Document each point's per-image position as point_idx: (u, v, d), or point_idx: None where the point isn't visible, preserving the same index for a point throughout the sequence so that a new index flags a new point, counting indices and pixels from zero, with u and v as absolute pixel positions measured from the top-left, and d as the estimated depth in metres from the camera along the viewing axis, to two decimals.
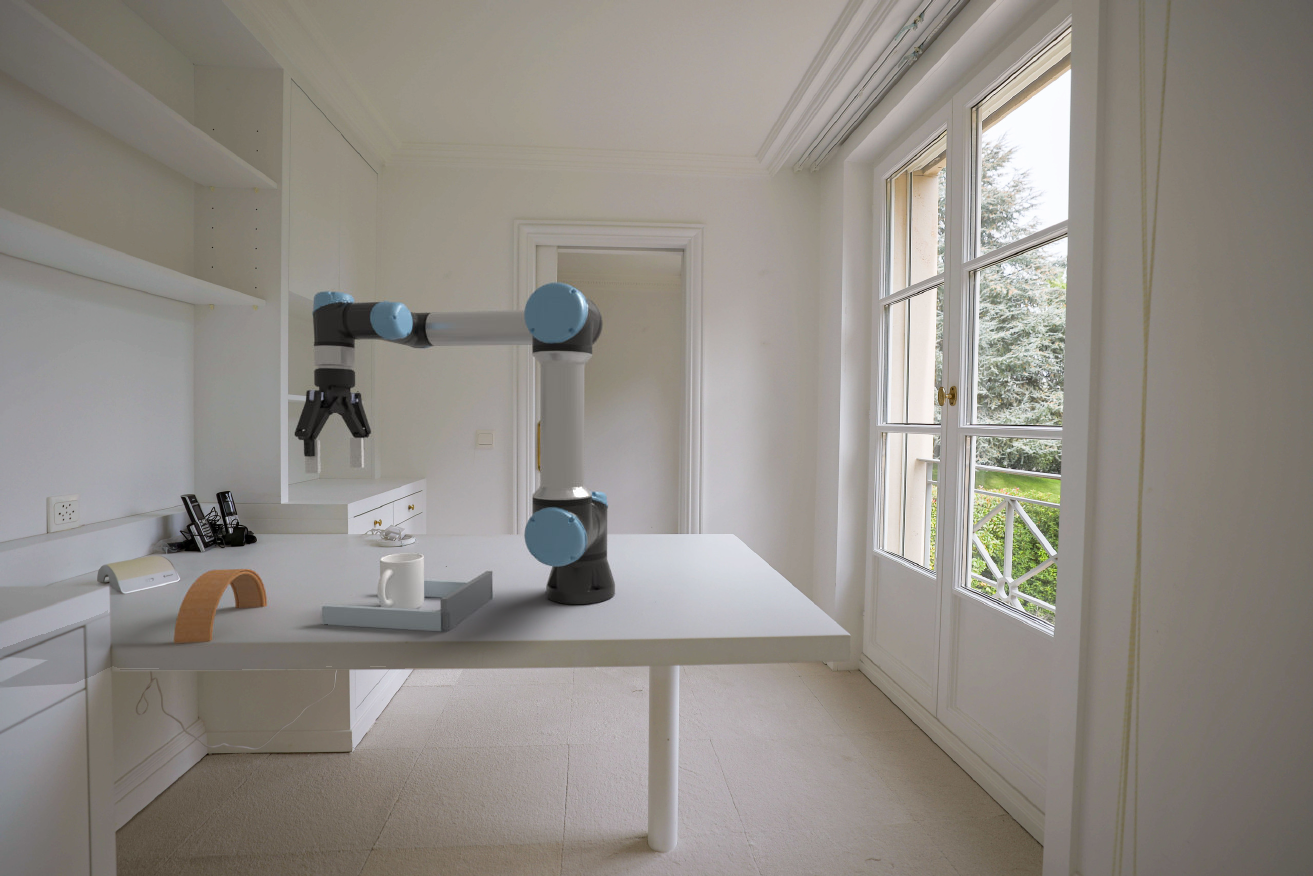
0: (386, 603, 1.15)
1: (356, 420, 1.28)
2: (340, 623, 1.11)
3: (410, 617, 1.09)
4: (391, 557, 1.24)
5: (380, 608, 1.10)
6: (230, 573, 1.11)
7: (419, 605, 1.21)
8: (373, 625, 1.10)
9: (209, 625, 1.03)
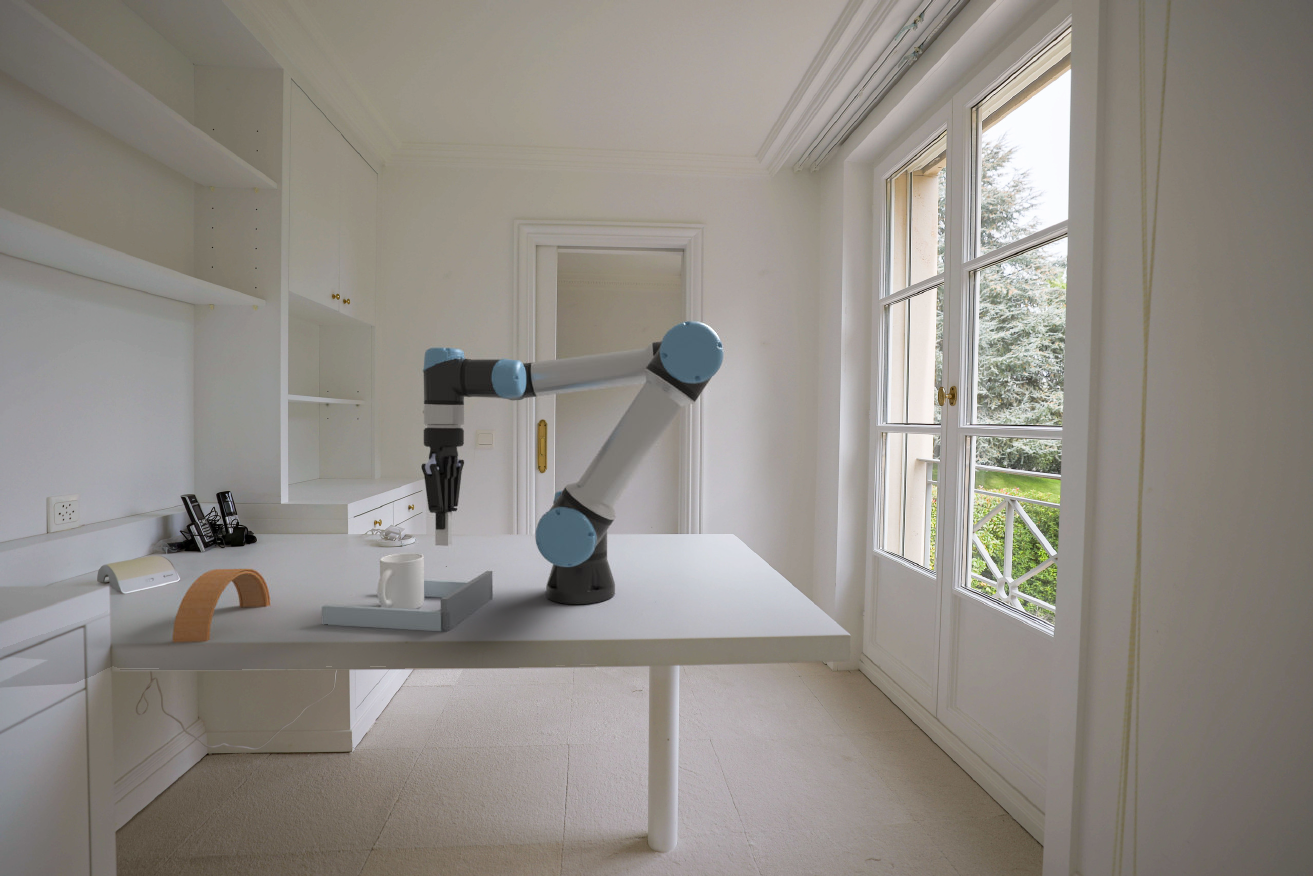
0: (386, 603, 1.15)
1: (452, 487, 1.19)
2: (340, 623, 1.11)
3: (410, 617, 1.09)
4: (391, 557, 1.24)
5: (380, 608, 1.10)
6: (230, 573, 1.11)
7: (419, 605, 1.21)
8: (373, 625, 1.10)
9: (206, 625, 1.03)
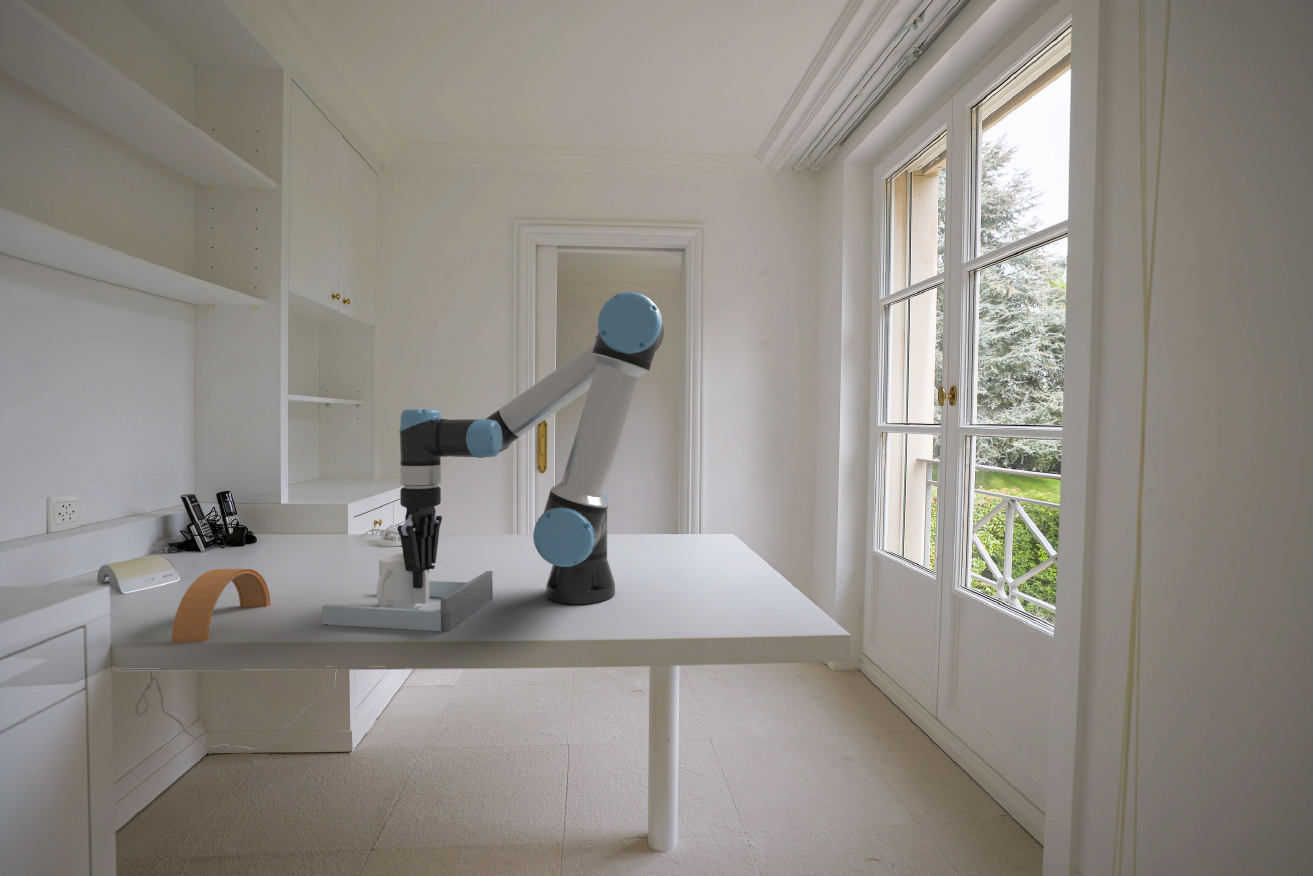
0: (385, 603, 1.15)
1: (429, 545, 1.20)
2: (340, 623, 1.11)
3: (410, 617, 1.09)
4: (390, 557, 1.24)
5: (380, 608, 1.10)
6: (230, 573, 1.11)
7: (418, 605, 1.21)
8: (373, 625, 1.10)
9: (205, 625, 1.03)
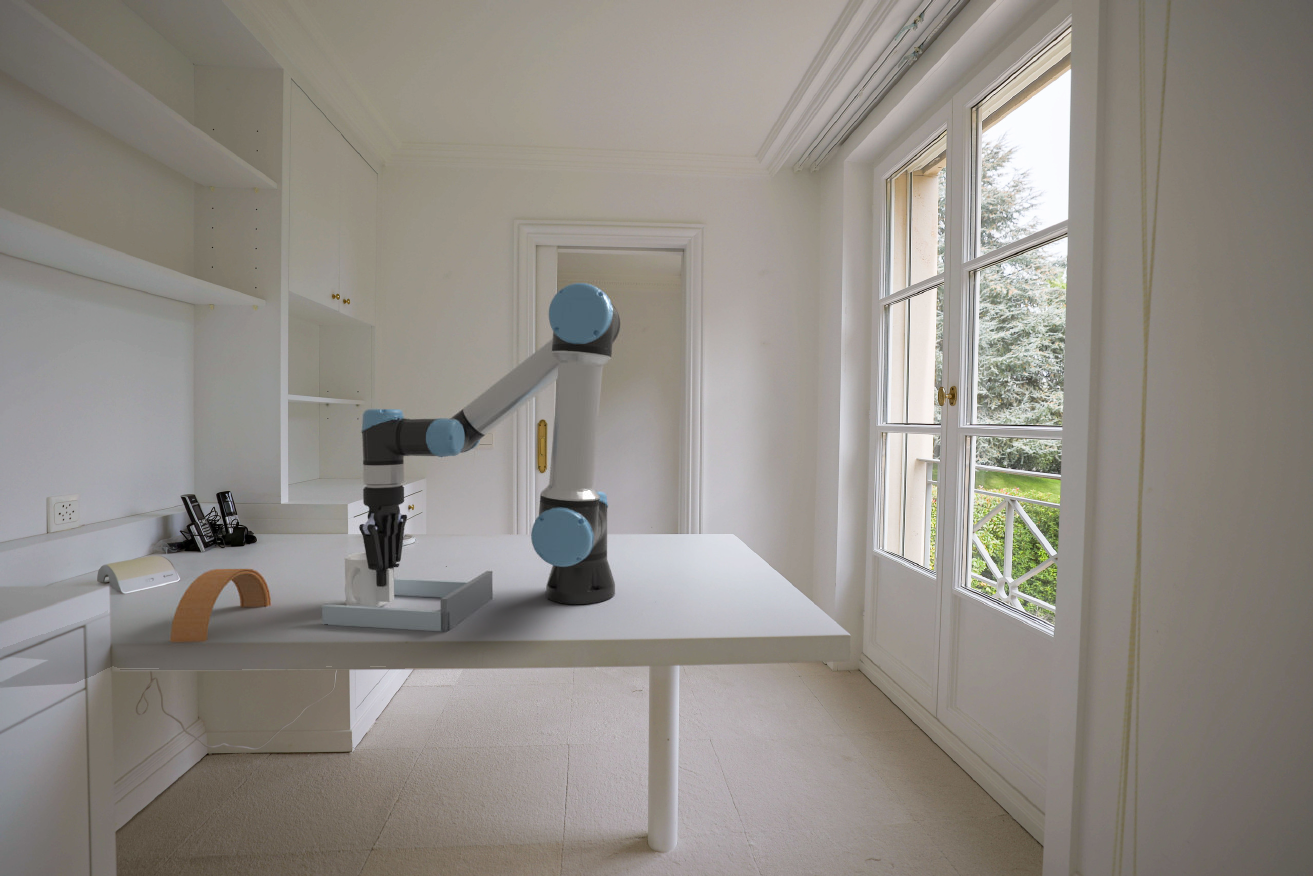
0: (354, 600, 1.17)
1: (394, 544, 1.21)
2: (340, 623, 1.11)
3: (410, 617, 1.09)
4: (355, 555, 1.25)
5: (380, 608, 1.10)
6: (229, 573, 1.11)
7: None
8: (373, 625, 1.10)
9: (204, 625, 1.03)
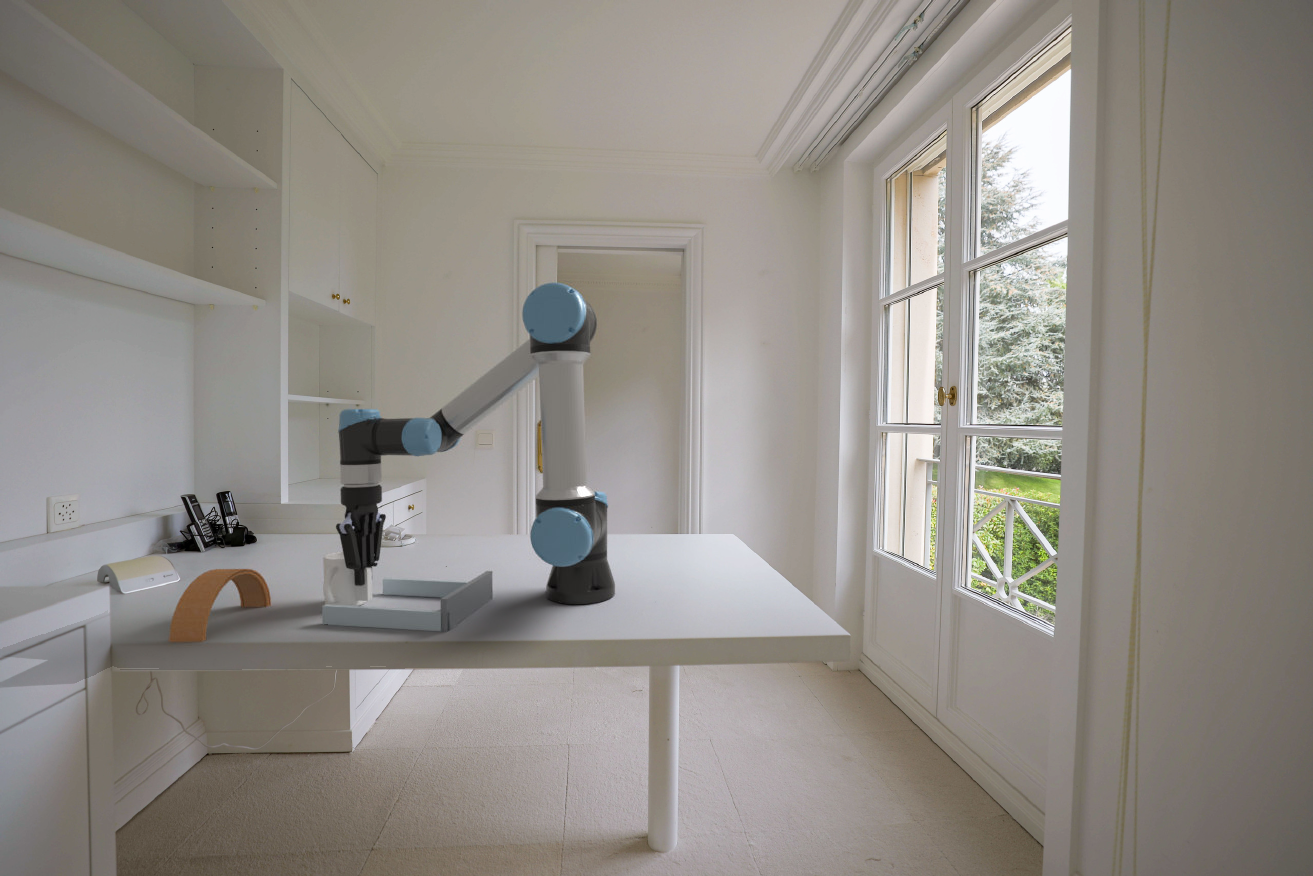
0: (332, 599, 1.17)
1: (372, 543, 1.22)
2: (340, 623, 1.11)
3: (410, 617, 1.09)
4: (334, 555, 1.25)
5: (380, 608, 1.10)
6: (228, 573, 1.11)
7: None
8: (373, 625, 1.10)
9: (202, 625, 1.03)
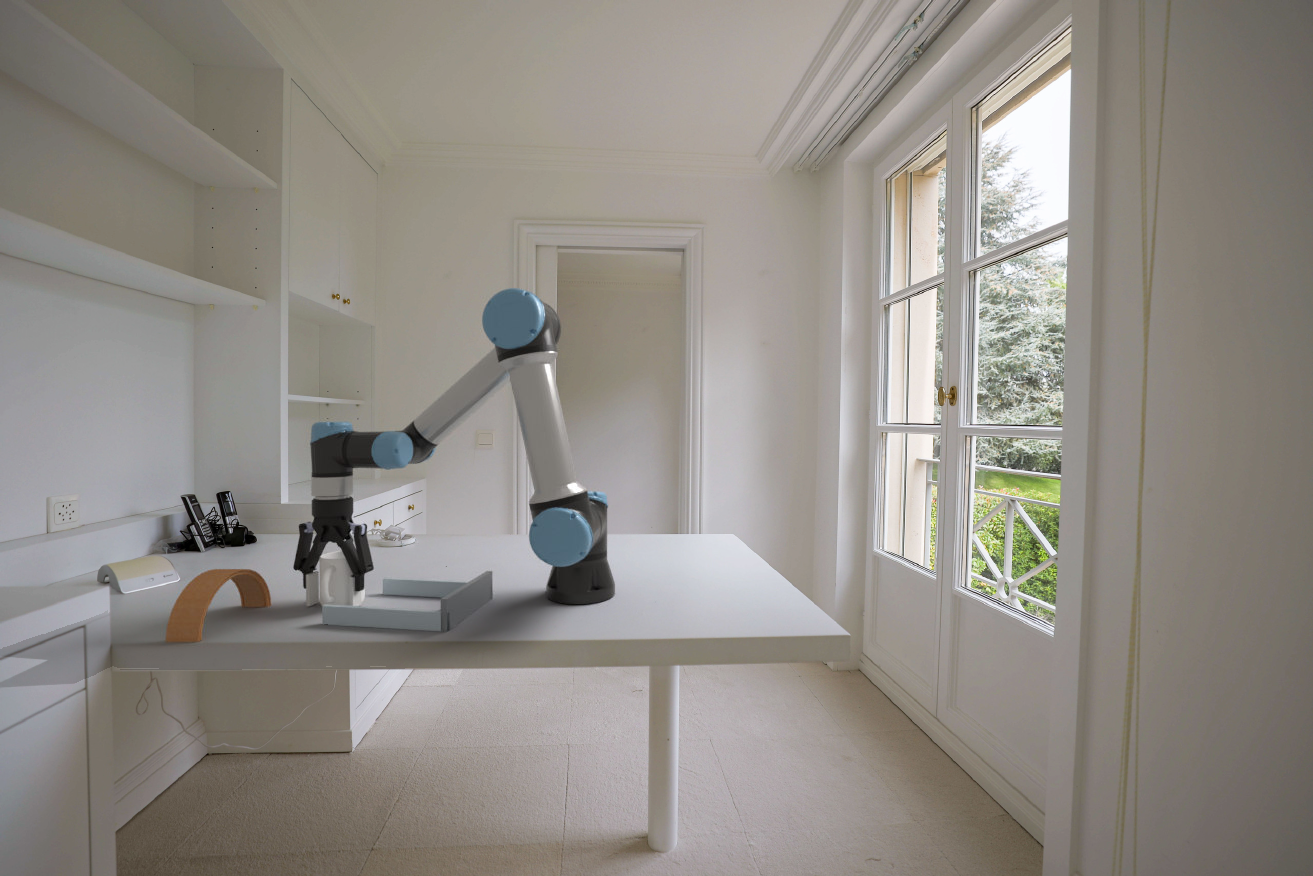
0: (329, 599, 1.17)
1: (347, 555, 1.20)
2: (340, 623, 1.11)
3: (410, 617, 1.09)
4: (329, 555, 1.25)
5: (380, 608, 1.10)
6: (226, 573, 1.11)
7: (361, 600, 1.24)
8: (373, 625, 1.10)
9: (198, 625, 1.03)
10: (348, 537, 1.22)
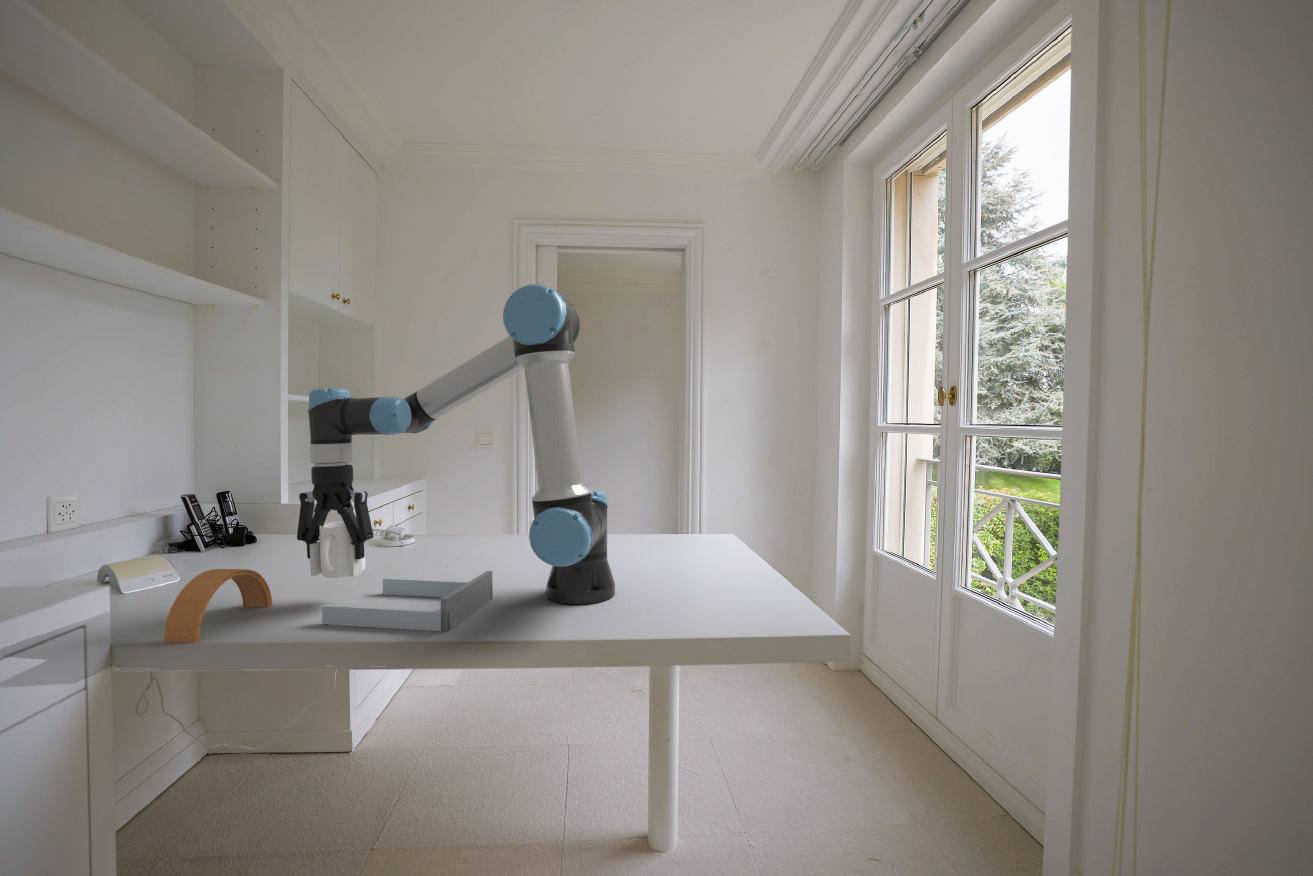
0: (330, 567, 1.17)
1: (347, 522, 1.20)
2: (340, 623, 1.11)
3: (410, 617, 1.09)
4: (329, 525, 1.25)
5: (380, 608, 1.10)
6: (225, 573, 1.10)
7: (362, 569, 1.23)
8: (373, 625, 1.10)
9: (195, 626, 1.03)
10: (348, 505, 1.22)
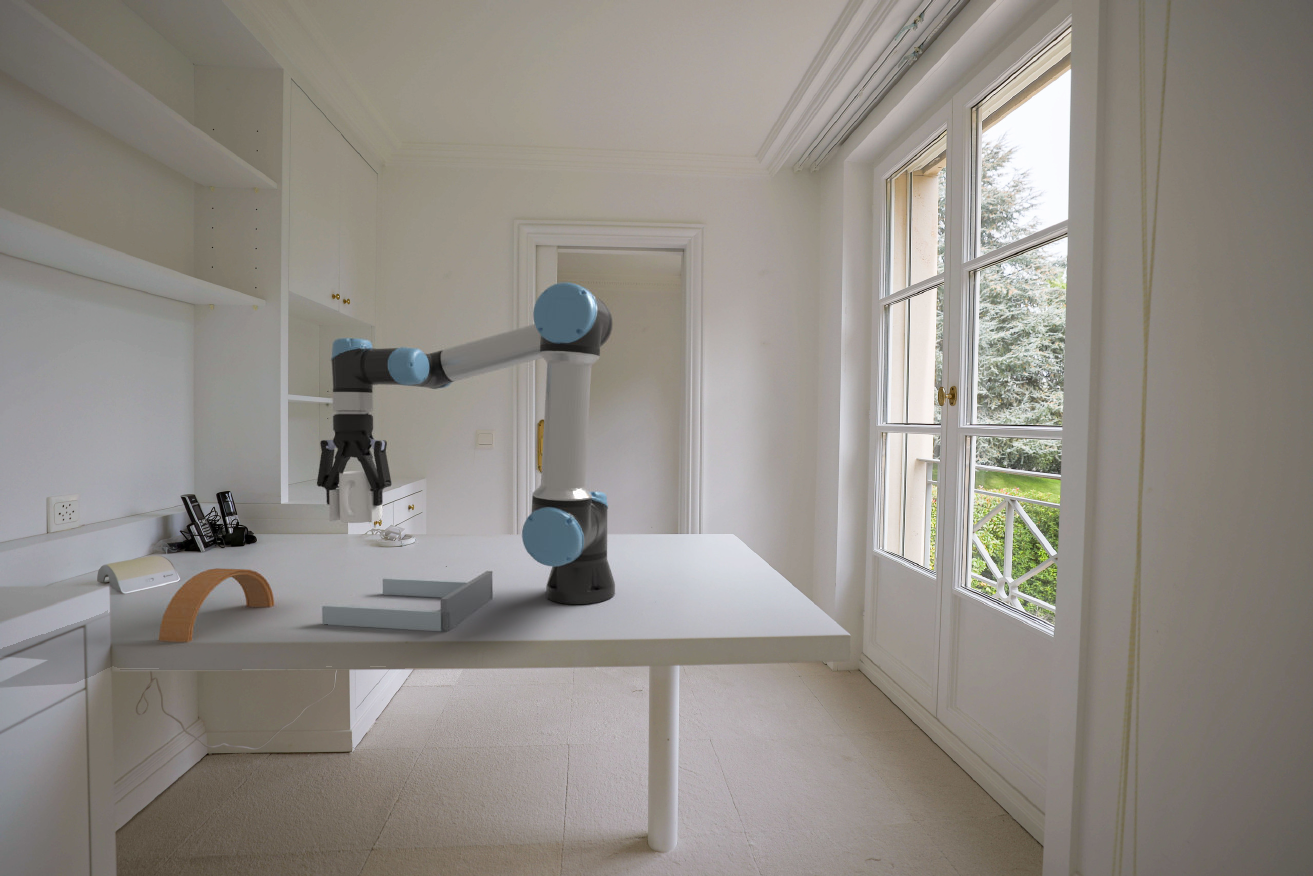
0: (349, 511, 1.21)
1: (366, 469, 1.23)
2: (340, 623, 1.11)
3: (410, 617, 1.09)
4: (348, 473, 1.28)
5: (380, 608, 1.10)
6: (223, 573, 1.11)
7: None
8: (373, 625, 1.10)
9: (188, 626, 1.03)
10: (368, 453, 1.25)
